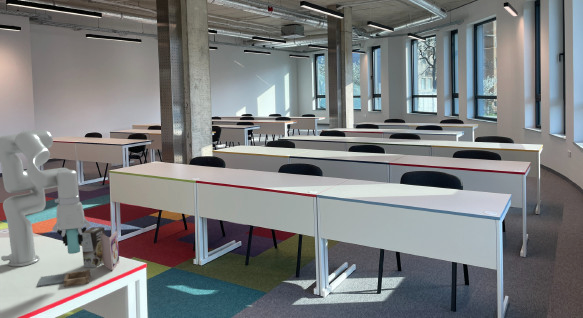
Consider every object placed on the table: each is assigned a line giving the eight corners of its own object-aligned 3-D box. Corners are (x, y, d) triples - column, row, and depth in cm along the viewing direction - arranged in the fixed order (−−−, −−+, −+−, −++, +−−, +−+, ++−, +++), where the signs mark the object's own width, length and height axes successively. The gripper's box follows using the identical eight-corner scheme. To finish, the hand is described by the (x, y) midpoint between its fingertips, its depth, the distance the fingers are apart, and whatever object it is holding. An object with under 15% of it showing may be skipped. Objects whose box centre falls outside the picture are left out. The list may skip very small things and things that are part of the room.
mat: (37, 287, 192) (37, 285, 192) (41, 278, 202) (41, 276, 201) (64, 283, 195) (64, 281, 195) (67, 274, 205) (67, 273, 205)
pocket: (64, 286, 191) (63, 280, 191) (67, 278, 200) (66, 273, 199) (88, 283, 194) (88, 277, 194) (90, 275, 203) (89, 269, 202)
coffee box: (96, 267, 212) (92, 232, 209) (83, 267, 213) (79, 232, 211) (108, 260, 220) (104, 226, 218) (95, 260, 222) (92, 226, 219)
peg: (67, 254, 193) (65, 230, 191) (68, 250, 197) (66, 227, 195) (79, 252, 194) (77, 229, 193) (80, 249, 198) (78, 226, 197)
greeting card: (114, 271, 207) (111, 237, 205) (96, 272, 206) (93, 238, 204) (121, 261, 218) (118, 230, 216) (104, 263, 217) (101, 231, 215)
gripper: (44, 205, 186) (49, 249, 189) (91, 200, 191) (95, 244, 194) (47, 200, 193) (51, 244, 196) (92, 196, 198) (96, 239, 201)
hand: (73, 243), depth 195 cm, fingers closed on peg, 4 cm apart
